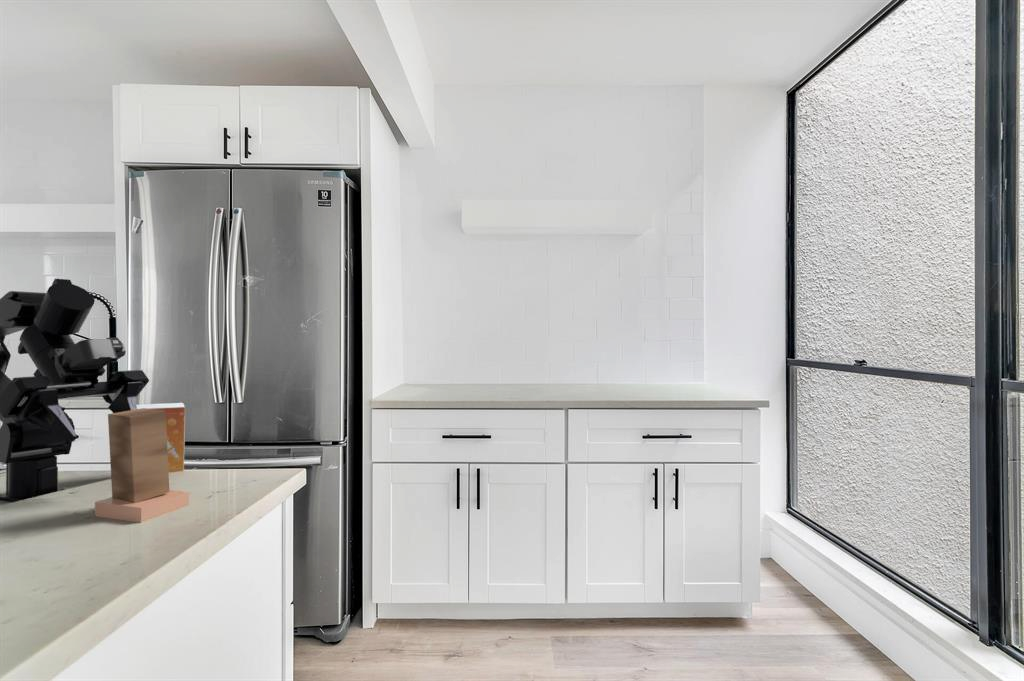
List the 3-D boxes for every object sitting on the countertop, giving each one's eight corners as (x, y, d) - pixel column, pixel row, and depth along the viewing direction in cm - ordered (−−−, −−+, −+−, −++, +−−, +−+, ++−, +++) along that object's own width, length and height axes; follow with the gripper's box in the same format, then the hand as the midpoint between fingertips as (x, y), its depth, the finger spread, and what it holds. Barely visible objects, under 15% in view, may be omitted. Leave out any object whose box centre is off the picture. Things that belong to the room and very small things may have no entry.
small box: (131, 483, 100) (132, 408, 100) (131, 475, 105) (132, 404, 105) (184, 477, 104) (185, 406, 104) (182, 470, 110) (183, 402, 109)
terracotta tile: (94, 516, 79) (95, 502, 79) (145, 500, 87) (145, 487, 87) (141, 522, 77) (141, 507, 77) (188, 505, 85) (188, 492, 85)
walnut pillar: (112, 498, 81) (107, 414, 81) (147, 487, 86) (143, 408, 85) (134, 503, 79) (130, 416, 78) (169, 492, 84) (165, 410, 83)
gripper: (11, 318, 77) (66, 406, 74) (141, 320, 95) (191, 392, 91) (-27, 373, 80) (25, 460, 76) (107, 366, 97) (154, 437, 94)
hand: (106, 434), depth 84 cm, fingers open, 9 cm apart
